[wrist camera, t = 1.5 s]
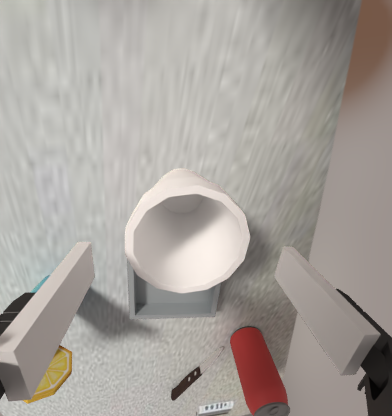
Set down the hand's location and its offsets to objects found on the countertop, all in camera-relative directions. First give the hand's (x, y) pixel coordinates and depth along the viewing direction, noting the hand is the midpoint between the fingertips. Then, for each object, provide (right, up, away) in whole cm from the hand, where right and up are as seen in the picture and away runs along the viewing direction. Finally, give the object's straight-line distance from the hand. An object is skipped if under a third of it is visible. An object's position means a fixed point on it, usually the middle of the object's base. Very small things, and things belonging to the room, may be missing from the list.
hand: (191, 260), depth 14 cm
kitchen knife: (0, -31, +30) cm, 43 cm away
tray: (-3, -7, +18) cm, 19 cm away
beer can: (+10, -22, +27) cm, 36 cm away
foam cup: (-2, +6, +13) cm, 15 cm away
